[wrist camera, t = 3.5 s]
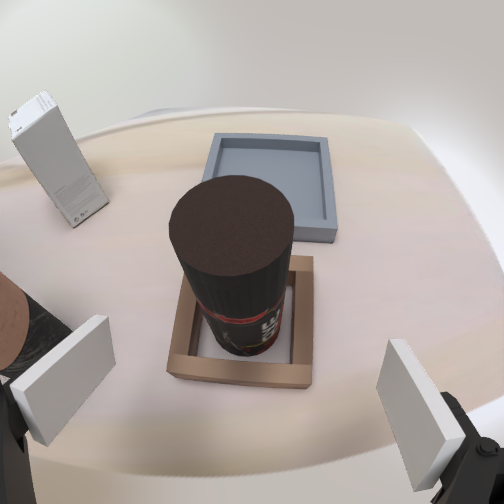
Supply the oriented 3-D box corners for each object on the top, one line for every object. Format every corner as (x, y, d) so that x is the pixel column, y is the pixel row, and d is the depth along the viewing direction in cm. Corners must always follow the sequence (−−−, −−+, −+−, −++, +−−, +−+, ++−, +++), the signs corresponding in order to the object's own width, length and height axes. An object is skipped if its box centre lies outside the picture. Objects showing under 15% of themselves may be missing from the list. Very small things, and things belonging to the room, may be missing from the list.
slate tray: (196, 235, 33) (191, 221, 31) (216, 147, 40) (214, 133, 38) (332, 243, 32) (337, 228, 30) (324, 152, 39) (327, 137, 37)
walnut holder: (176, 377, 25) (166, 371, 23) (194, 265, 31) (188, 249, 28) (306, 388, 24) (311, 384, 22) (308, 272, 30) (313, 256, 27)
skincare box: (110, 202, 36) (62, 104, 23) (71, 231, 34) (9, 139, 21) (88, 171, 39) (47, 85, 27) (54, 196, 37) (5, 114, 25)
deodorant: (261, 368, 25) (260, 298, 13) (200, 337, 27) (144, 244, 14) (290, 309, 28) (312, 197, 15) (232, 283, 30) (210, 162, 17)
